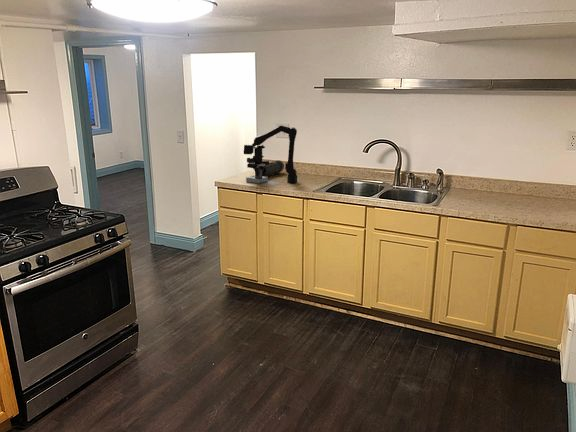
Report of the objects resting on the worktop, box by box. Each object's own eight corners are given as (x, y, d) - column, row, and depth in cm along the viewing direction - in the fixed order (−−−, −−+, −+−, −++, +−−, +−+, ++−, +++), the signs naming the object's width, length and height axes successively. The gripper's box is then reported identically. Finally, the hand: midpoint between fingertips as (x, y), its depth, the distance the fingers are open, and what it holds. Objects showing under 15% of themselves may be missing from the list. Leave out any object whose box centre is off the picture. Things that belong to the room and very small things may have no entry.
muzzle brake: (256, 178, 361) (256, 164, 358) (275, 172, 384) (275, 159, 382) (267, 179, 356) (267, 165, 354) (285, 173, 380) (285, 160, 377)
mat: (280, 183, 341) (280, 182, 341) (273, 185, 334) (273, 185, 334) (270, 182, 346) (270, 181, 346) (263, 184, 339) (263, 183, 339)
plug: (262, 179, 343) (262, 169, 341) (259, 179, 341) (259, 170, 339) (257, 178, 345) (257, 168, 343) (255, 178, 343) (255, 169, 341)
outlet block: (267, 182, 345) (267, 177, 344) (259, 184, 337) (259, 179, 336) (255, 180, 352) (254, 175, 351) (246, 182, 344) (246, 177, 343)
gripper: (257, 151, 350) (258, 172, 354) (241, 155, 335) (241, 176, 339) (269, 153, 343) (269, 174, 348) (253, 156, 329) (253, 178, 333)
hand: (258, 176), depth 342 cm, fingers closed on plug, 3 cm apart
